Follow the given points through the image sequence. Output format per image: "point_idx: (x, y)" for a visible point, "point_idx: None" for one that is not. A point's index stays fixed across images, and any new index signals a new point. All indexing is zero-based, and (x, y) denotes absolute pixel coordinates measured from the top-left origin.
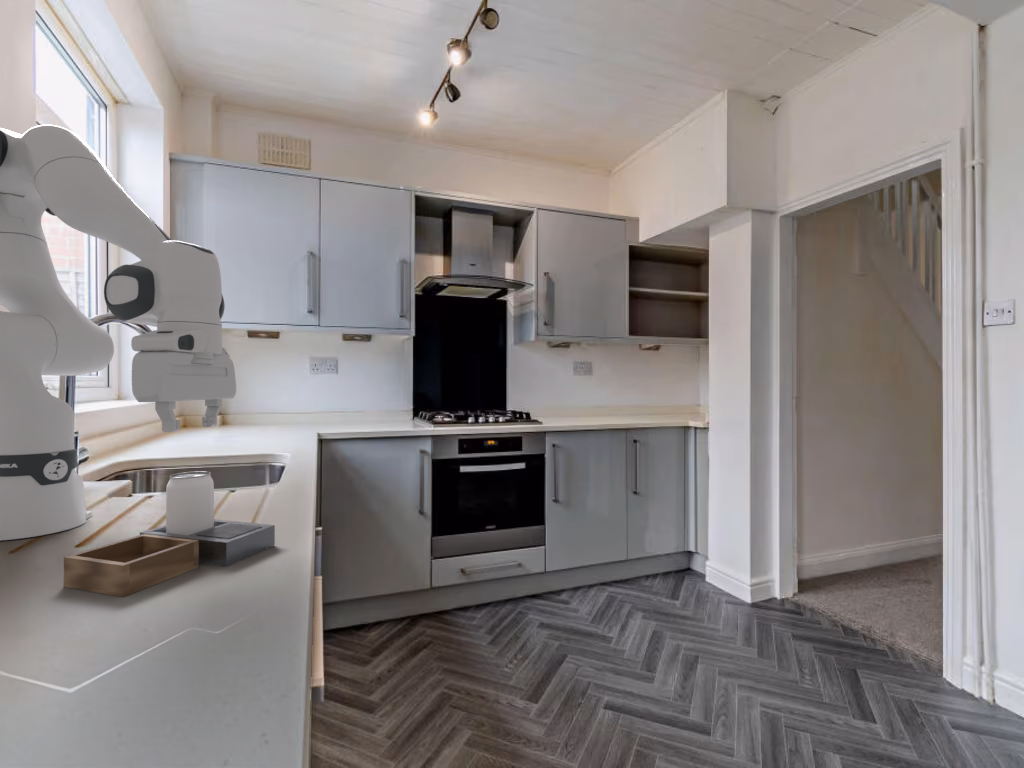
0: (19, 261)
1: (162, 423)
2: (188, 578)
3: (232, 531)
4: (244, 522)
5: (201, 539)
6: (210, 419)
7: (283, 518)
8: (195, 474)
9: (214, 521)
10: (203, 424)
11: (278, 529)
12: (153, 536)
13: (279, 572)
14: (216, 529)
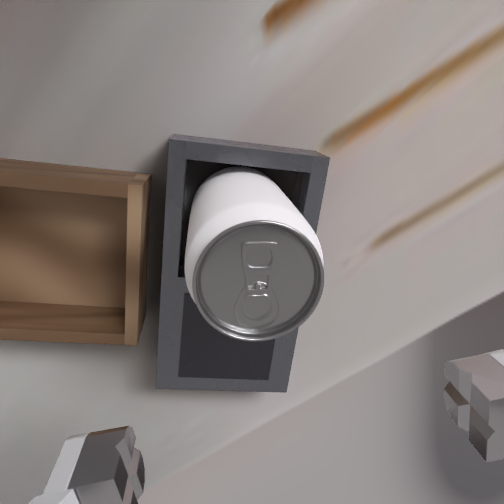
0: None
1: (51, 479)
2: None
3: (222, 350)
4: None
5: (160, 329)
6: (471, 437)
7: (485, 248)
8: (296, 267)
9: None
10: (452, 374)
11: (393, 296)
12: (131, 227)
13: (162, 446)
14: None
